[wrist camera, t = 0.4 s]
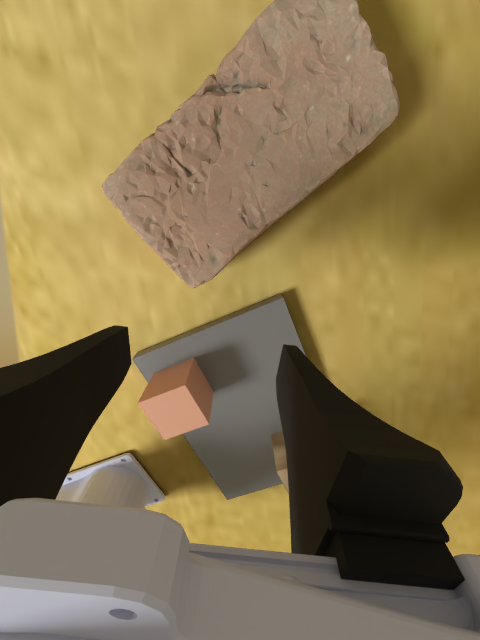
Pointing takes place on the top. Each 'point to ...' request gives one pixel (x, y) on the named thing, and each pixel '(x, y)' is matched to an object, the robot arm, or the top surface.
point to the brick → (257, 135)
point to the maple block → (280, 457)
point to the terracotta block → (178, 399)
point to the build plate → (235, 391)
